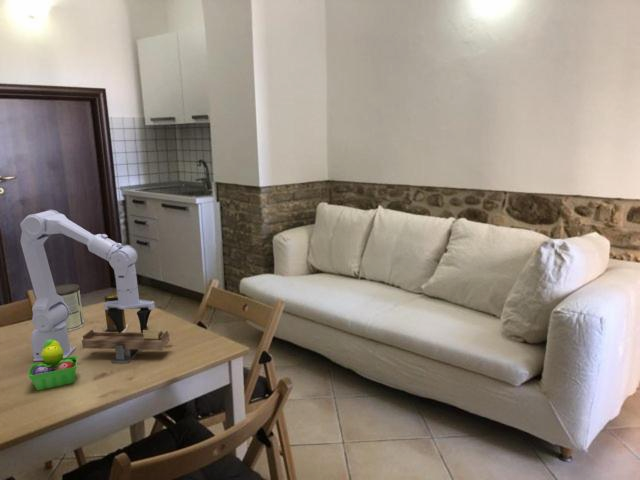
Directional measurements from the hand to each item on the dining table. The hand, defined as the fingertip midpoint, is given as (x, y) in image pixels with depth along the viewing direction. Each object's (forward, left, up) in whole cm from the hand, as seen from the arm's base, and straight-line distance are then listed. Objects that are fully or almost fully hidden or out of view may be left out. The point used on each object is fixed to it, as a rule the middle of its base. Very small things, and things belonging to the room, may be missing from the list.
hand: (132, 331), depth 149 cm
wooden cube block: (+6, -1, -3) cm, 7 cm away
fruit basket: (-17, -14, -8) cm, 23 cm away
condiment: (-12, +22, -8) cm, 27 cm away
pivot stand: (-2, 0, -8) cm, 8 cm away
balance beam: (-2, 0, -4) cm, 5 cm away
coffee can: (-30, +28, -8) cm, 42 cm away
